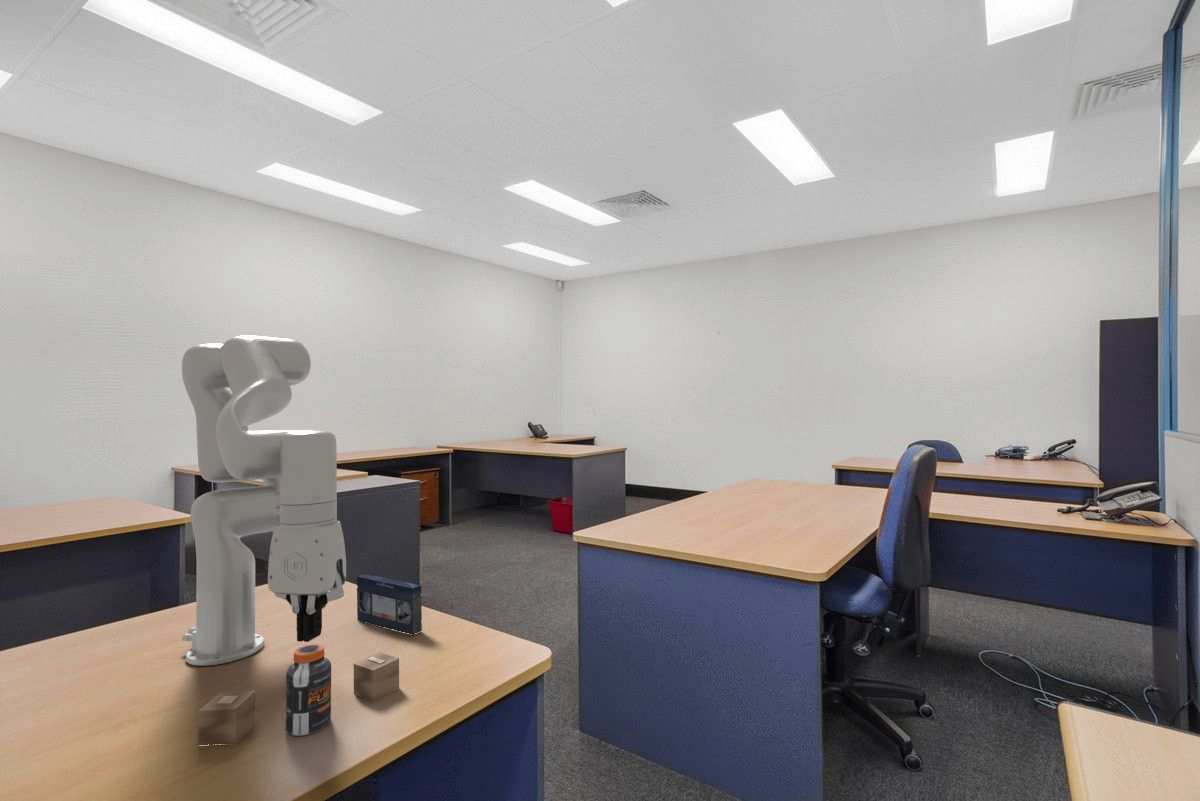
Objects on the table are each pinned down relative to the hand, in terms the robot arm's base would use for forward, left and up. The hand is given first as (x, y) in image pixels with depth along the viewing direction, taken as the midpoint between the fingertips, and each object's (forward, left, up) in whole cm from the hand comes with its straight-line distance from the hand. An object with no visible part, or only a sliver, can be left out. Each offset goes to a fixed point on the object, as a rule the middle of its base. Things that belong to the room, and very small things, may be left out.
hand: (309, 637), depth 81 cm
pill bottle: (0, 0, -13) cm, 13 cm away
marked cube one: (-10, -4, -13) cm, 17 cm away
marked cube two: (+4, +11, -13) cm, 18 cm away
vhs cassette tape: (-10, +37, -13) cm, 41 cm away
